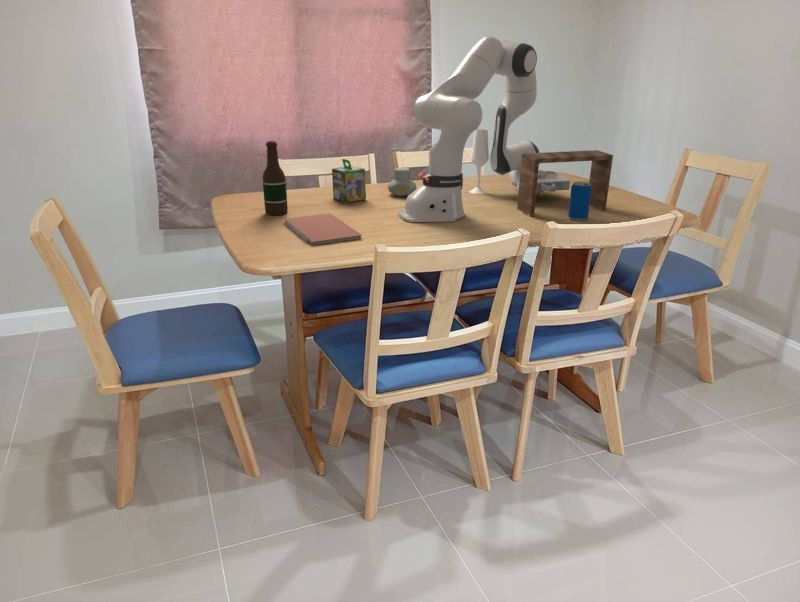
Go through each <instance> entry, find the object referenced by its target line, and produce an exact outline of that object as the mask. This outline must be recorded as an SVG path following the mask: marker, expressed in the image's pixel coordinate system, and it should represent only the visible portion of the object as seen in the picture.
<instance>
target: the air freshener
mask: <svg viewBox="0 0 800 602" xmlns="http://www.w3.org/2000/svg"><path fill="white" fill-rule="evenodd" d="M417 188H418V187H417V184H416V182H415V181H414V180H412V179H411V169H410V168H409V167H405V166H404V167H403V166H401V167H396V168H394V179H392V180H391V181H390V182H389V183H388V184H387V190H388V192H390V194H392V195H393V196H396V197H400V198H401V197H402V198H404V197H408V196H409V195H410V194H411V193H412V192H414V191H415V190H416V189H417Z"/></svg>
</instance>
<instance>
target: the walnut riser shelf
mask: <svg viewBox="0 0 800 602" xmlns="http://www.w3.org/2000/svg"><path fill="white" fill-rule="evenodd" d="M613 159H614V154H610V153H607V152H604V151H600V150H598V149H596V150H595V149H594V150H576V151H575V150H574V151H570V150H569V151H552V152H551V151H550V152H539V153H525V154H522V157H521V169H520V181H519V191H518V193H517V194H518V196H517V207H516V209H518V211H519V210H520V211H519V212H521V211H522V212H524V213H526V214H527V215H526V214H525V215H526V216H528V215H529V216H534V217H535V211H536V210H535V209H536V200H537V194H536V190H537V179H538V170H539V168H540V164H549V163H550V164H551V163H554V164H555V163H556V164H557V163H571V162H572V163H574V162H590V161H591V165H590V174H589V181H588V183H591V187H592V189H591V196H590V204H589V208H590V207H591V208H593V209H595V210H597V211H599V212H606V211H607V210H606V209H607V201H608V194H609V188H610V181H611V173H612V166H613ZM522 212H521V213H522ZM524 213H523V214H524ZM529 216H528V217H529Z"/></svg>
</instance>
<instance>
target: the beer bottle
mask: <svg viewBox="0 0 800 602" xmlns="http://www.w3.org/2000/svg"><path fill="white" fill-rule="evenodd" d="M265 146H266V167H265V169H264V170H263V174H262V188H263V200H264V201H263V203H264V210H265V211H264V212H265V214H266V215H267V216H271V217H278V216H279V215H280V216H284V215H286V213H287V214H288V209H289V207H288V196H287V195H288V193H287V180H286V175H285V172H284V170H283V169H282V168H281V166H280V162H279V154H278V147H277V146H278V142H276V141H273V140H272V141H267V142H266V141H265Z"/></svg>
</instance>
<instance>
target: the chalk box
mask: <svg viewBox="0 0 800 602" xmlns="http://www.w3.org/2000/svg"><path fill="white" fill-rule="evenodd" d="M341 161H342V164H343V166H339V167H334V168H331V172H332V173H331V176H332V180H331V181H332V196H333V198H334V199H333V200H336V199H337V201H339V202H341V201H342V203H344V202H345V203H344V204H348V202H350V203H355V202H358V201H359V202H360V201H365V200H367V194H366V193H367V192H366V189H367V188H366V168H363V167H359V166H355V165H352V163H351V161H350V160H348V159H345V158H342V159H341Z"/></svg>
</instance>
